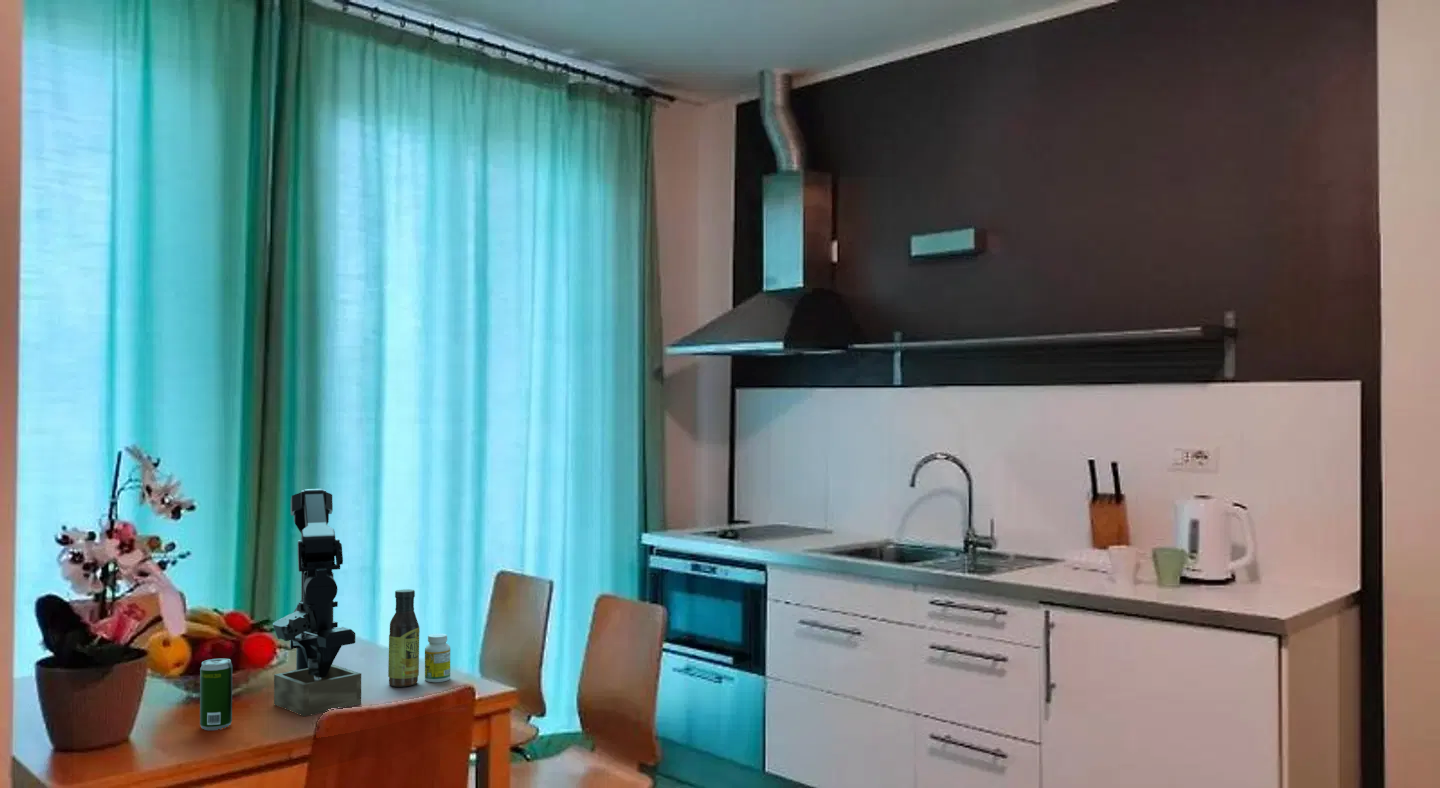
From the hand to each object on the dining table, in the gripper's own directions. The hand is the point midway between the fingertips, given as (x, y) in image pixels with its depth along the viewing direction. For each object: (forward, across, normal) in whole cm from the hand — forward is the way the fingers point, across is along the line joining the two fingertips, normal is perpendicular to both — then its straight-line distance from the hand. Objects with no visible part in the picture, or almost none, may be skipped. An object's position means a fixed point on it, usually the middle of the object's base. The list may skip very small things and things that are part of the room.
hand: (317, 675), depth 218 cm
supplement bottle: (+6, +1, +27) cm, 28 cm away
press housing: (+6, 0, 0) cm, 6 cm away
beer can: (+6, 0, -20) cm, 21 cm away
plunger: (+3, 0, 0) cm, 3 cm away
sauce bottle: (+6, -1, +20) cm, 21 cm away
